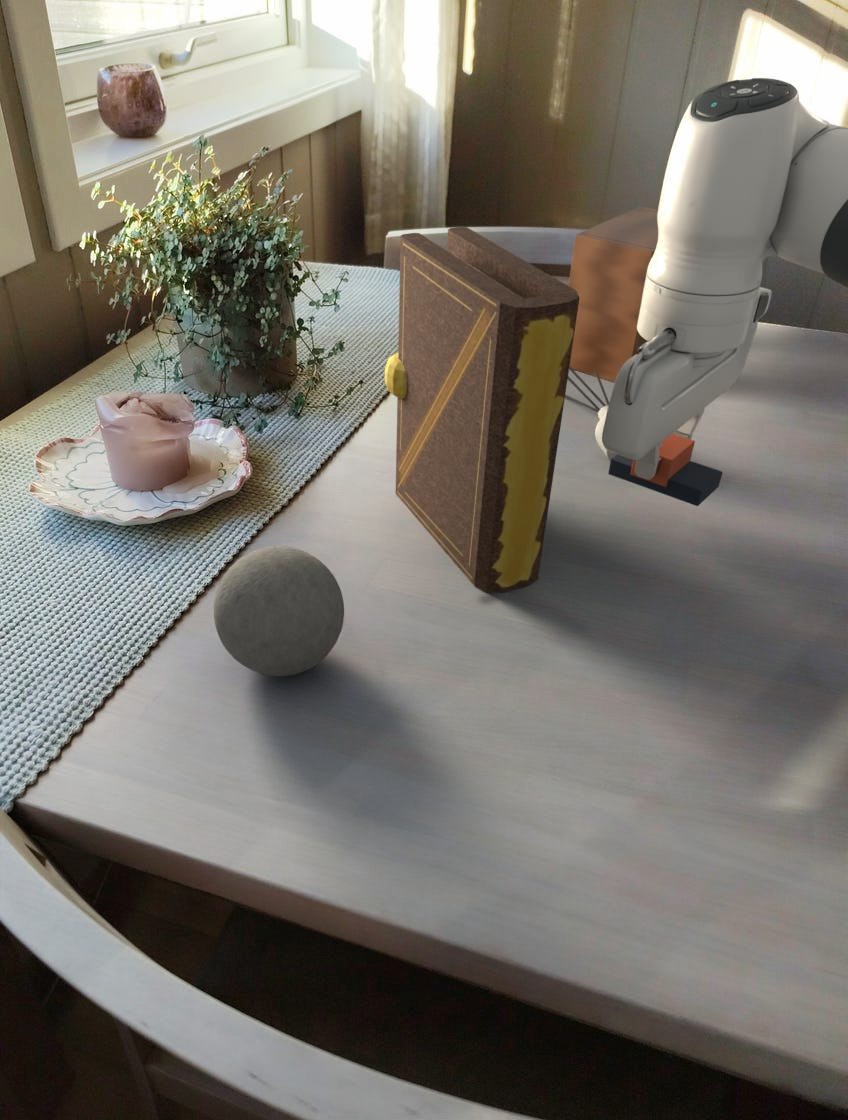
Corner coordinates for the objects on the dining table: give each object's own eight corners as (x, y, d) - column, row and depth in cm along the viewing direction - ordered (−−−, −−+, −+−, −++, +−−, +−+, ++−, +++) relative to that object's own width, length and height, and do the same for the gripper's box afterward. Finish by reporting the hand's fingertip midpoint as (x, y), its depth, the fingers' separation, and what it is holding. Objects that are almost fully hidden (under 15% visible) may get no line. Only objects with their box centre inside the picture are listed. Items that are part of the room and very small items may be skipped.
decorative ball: (201, 689, 69) (183, 586, 63) (248, 612, 77) (236, 512, 70) (323, 713, 67) (318, 609, 61) (359, 632, 75) (358, 531, 68)
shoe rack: (684, 347, 120) (714, 220, 110) (626, 386, 111) (652, 251, 101) (618, 329, 125) (640, 205, 115) (557, 364, 116) (575, 234, 106)
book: (556, 577, 80) (603, 296, 64) (472, 600, 78) (499, 313, 62) (446, 465, 96) (462, 216, 80) (374, 481, 94) (374, 227, 77)
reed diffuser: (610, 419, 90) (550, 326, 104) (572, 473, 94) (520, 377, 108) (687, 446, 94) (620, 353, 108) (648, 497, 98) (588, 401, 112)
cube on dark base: (719, 486, 83) (728, 451, 80) (697, 507, 80) (706, 471, 78) (631, 456, 87) (637, 422, 85) (607, 474, 85) (613, 440, 82)
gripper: (672, 363, 66) (638, 521, 75) (780, 287, 78) (740, 432, 87) (597, 342, 69) (573, 496, 78) (711, 272, 81) (679, 413, 90)
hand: (661, 462), depth 83 cm, fingers closed on cube on dark base, 4 cm apart
